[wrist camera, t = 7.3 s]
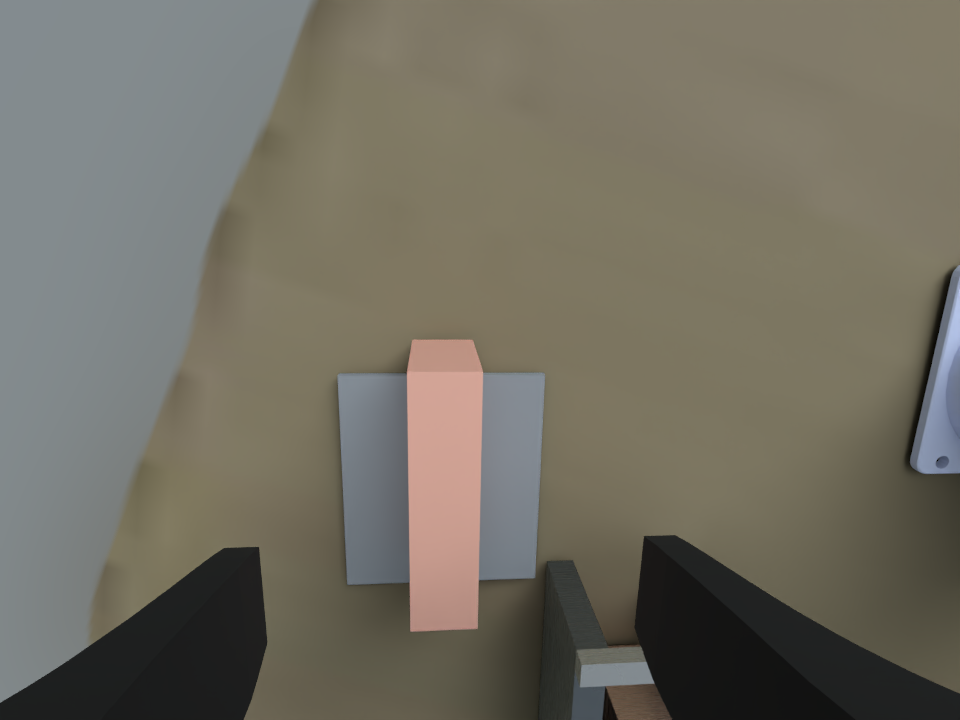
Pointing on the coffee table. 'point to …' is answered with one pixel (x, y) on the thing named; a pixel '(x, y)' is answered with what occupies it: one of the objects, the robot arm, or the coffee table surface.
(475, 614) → the salmon pink brick
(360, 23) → the coffee table surface
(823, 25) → the coffee table surface
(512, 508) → the pad
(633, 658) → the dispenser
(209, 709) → the robot arm
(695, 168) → the coffee table surface
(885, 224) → the coffee table surface
